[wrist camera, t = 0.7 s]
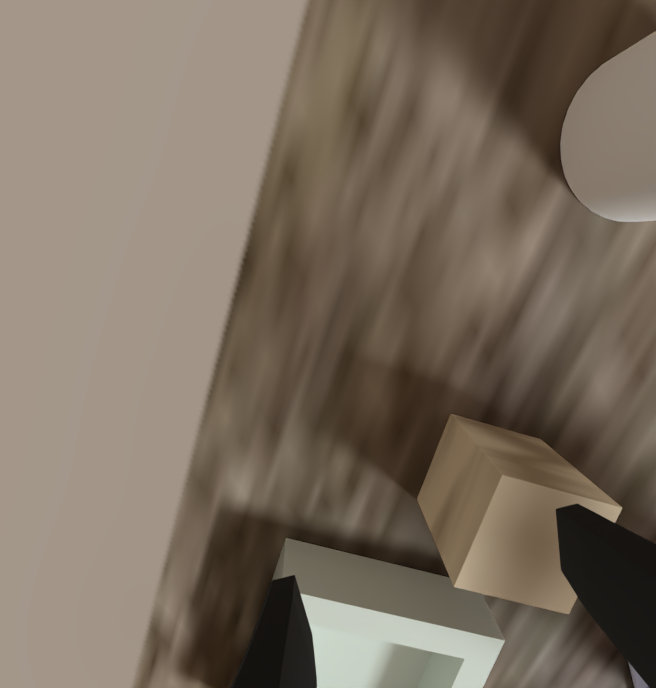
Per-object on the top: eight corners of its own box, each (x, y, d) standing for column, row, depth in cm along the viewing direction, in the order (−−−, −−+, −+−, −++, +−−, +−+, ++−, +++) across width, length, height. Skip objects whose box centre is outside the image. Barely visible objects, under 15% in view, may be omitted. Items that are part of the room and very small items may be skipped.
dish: (477, 584, 24) (504, 640, 21) (410, 733, 26) (425, 806, 23) (285, 537, 23) (281, 589, 19) (233, 698, 25) (220, 769, 22)
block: (540, 438, 22) (622, 507, 16) (503, 521, 23) (568, 614, 17) (450, 413, 22) (502, 475, 16) (416, 498, 23) (453, 586, 17)
